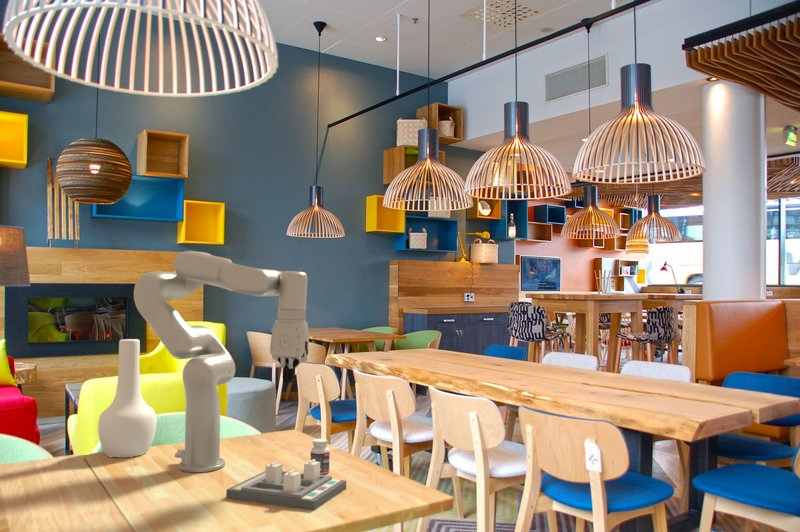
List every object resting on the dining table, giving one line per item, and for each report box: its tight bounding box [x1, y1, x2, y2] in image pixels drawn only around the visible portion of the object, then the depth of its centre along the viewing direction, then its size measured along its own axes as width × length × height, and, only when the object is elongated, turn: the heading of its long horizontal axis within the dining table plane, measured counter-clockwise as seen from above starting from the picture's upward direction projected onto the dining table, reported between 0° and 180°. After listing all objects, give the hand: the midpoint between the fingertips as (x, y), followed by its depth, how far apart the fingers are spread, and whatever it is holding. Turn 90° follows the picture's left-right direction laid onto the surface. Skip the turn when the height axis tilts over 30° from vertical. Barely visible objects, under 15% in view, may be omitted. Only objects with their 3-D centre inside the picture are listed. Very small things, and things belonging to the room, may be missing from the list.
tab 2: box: [283, 468, 302, 493], centre depth 151 cm, size 3×3×5 cm
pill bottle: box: [310, 438, 331, 476], centre depth 175 cm, size 5×5×9 cm
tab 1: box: [265, 460, 283, 483], centre depth 158 cm, size 3×3×5 cm
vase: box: [97, 338, 158, 458], centre depth 195 cm, size 17×17×35 cm
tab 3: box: [303, 459, 320, 481], centre depth 160 cm, size 3×3×5 cm
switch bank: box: [225, 470, 347, 511], centre depth 157 cm, size 24×17×3 cm
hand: (288, 382), depth 174 cm, fingers closed
